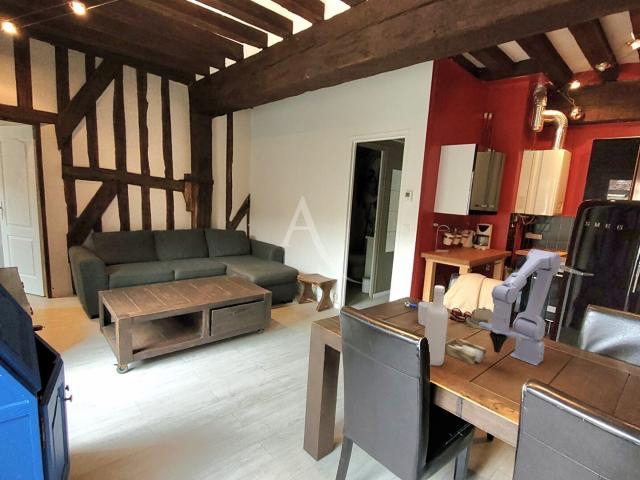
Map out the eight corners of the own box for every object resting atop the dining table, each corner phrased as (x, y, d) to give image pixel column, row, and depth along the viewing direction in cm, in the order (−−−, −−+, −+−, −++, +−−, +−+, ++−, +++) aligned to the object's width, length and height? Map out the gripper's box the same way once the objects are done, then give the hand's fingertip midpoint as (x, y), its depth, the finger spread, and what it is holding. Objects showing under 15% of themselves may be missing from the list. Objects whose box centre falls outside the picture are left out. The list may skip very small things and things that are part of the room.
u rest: (485, 356, 133) (486, 348, 133) (472, 364, 127) (473, 356, 126) (452, 343, 144) (453, 336, 144) (439, 350, 137) (440, 342, 137)
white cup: (413, 321, 167) (415, 302, 166) (425, 319, 171) (427, 301, 169) (424, 327, 160) (426, 308, 159) (436, 325, 163) (438, 306, 162)
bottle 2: (481, 349, 128) (454, 340, 135) (477, 360, 126) (450, 350, 134) (484, 353, 131) (457, 344, 138) (480, 364, 129) (453, 354, 136)
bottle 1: (445, 367, 124) (452, 290, 120) (423, 364, 126) (430, 288, 121) (441, 357, 132) (448, 284, 127) (421, 354, 134) (427, 282, 129)
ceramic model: (493, 323, 168) (495, 305, 167) (500, 332, 157) (503, 312, 156) (464, 320, 171) (466, 302, 169) (469, 329, 160) (471, 309, 159)
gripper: (476, 313, 125) (473, 347, 127) (518, 326, 114) (513, 362, 116) (485, 309, 130) (481, 342, 132) (526, 321, 119) (521, 357, 121)
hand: (497, 351), depth 124 cm, fingers closed
